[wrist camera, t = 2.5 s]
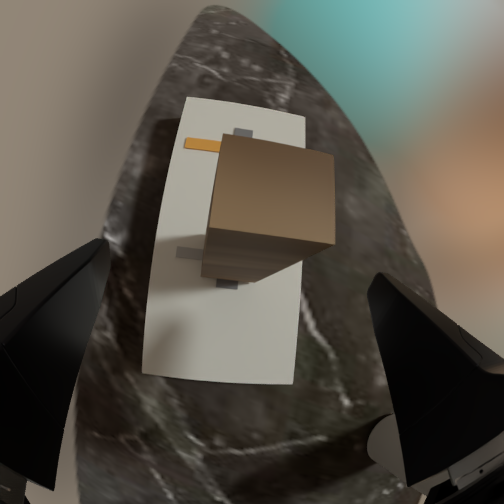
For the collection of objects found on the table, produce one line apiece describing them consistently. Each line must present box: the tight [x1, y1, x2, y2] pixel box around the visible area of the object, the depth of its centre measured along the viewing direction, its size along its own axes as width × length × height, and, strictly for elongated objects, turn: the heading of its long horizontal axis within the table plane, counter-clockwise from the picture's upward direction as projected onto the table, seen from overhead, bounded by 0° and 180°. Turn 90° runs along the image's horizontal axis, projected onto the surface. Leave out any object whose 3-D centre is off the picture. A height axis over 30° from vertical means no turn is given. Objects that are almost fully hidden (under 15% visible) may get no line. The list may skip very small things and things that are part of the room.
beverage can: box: [367, 414, 450, 496], centre depth 13 cm, size 5×5×12 cm
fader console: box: [142, 97, 305, 384], centre depth 18 cm, size 18×9×3 cm, turn 175°
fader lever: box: [201, 133, 335, 283], centre depth 12 cm, size 2×3×10 cm
